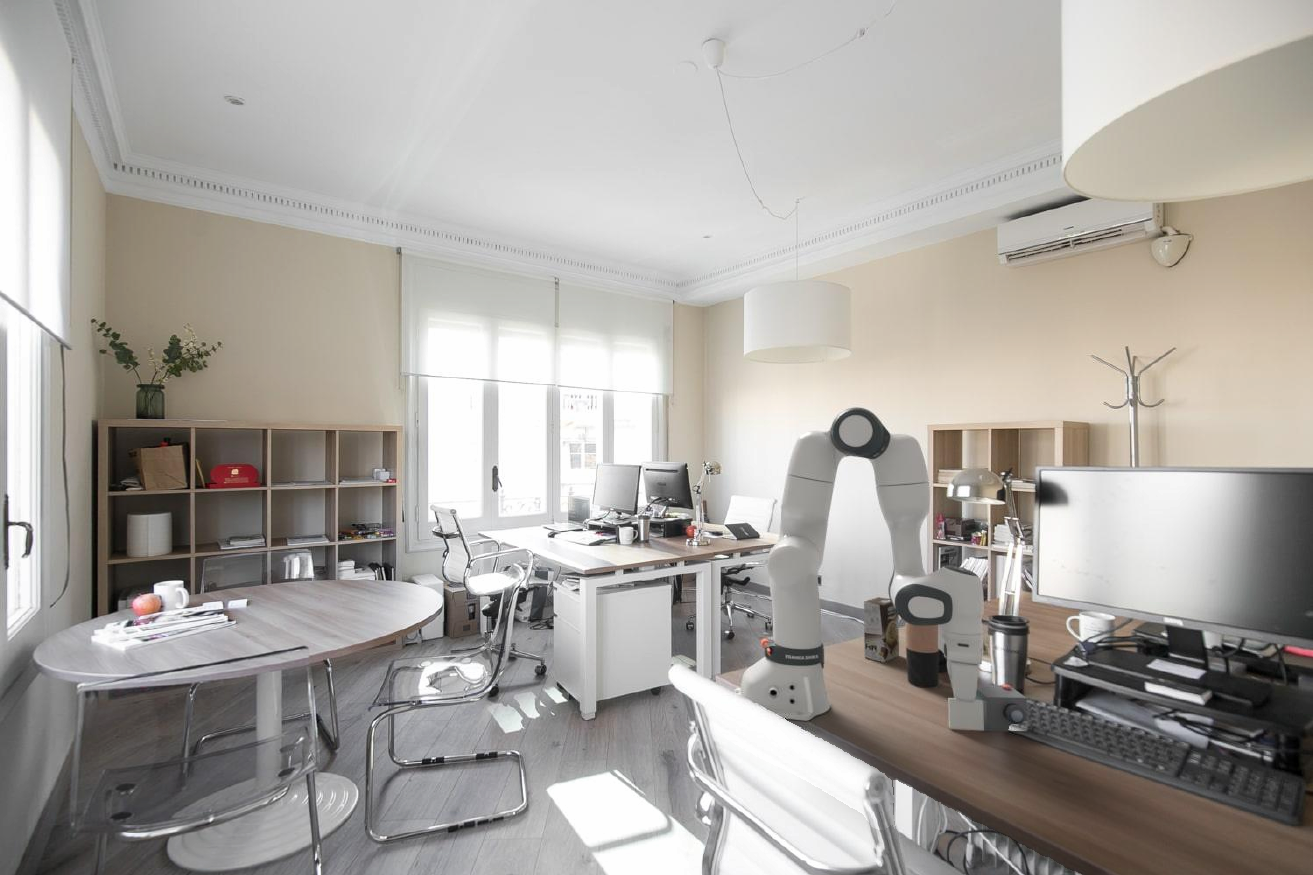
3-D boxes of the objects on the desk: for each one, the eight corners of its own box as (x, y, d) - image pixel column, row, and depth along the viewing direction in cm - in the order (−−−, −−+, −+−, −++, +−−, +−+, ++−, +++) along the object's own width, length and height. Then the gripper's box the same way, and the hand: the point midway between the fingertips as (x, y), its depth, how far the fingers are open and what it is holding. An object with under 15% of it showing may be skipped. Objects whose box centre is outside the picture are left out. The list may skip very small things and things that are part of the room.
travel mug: (910, 687, 150) (908, 606, 151) (903, 676, 158) (902, 599, 159) (943, 689, 149) (941, 607, 150) (934, 678, 156) (933, 600, 157)
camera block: (992, 735, 124) (991, 697, 124) (972, 716, 133) (971, 681, 133) (1033, 736, 123) (1032, 698, 124) (1009, 717, 132) (1009, 682, 133)
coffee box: (885, 663, 168) (884, 604, 169) (863, 657, 173) (862, 601, 174) (900, 655, 174) (899, 599, 175) (879, 650, 179) (878, 596, 180)
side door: (987, 731, 125) (986, 701, 125) (949, 728, 127) (949, 699, 127) (986, 729, 126) (985, 700, 126) (948, 726, 127) (948, 697, 128)
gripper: (940, 628, 141) (940, 688, 141) (948, 654, 122) (947, 723, 122) (970, 631, 139) (970, 692, 138) (983, 659, 120) (982, 729, 119)
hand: (959, 707), depth 130 cm, fingers closed
